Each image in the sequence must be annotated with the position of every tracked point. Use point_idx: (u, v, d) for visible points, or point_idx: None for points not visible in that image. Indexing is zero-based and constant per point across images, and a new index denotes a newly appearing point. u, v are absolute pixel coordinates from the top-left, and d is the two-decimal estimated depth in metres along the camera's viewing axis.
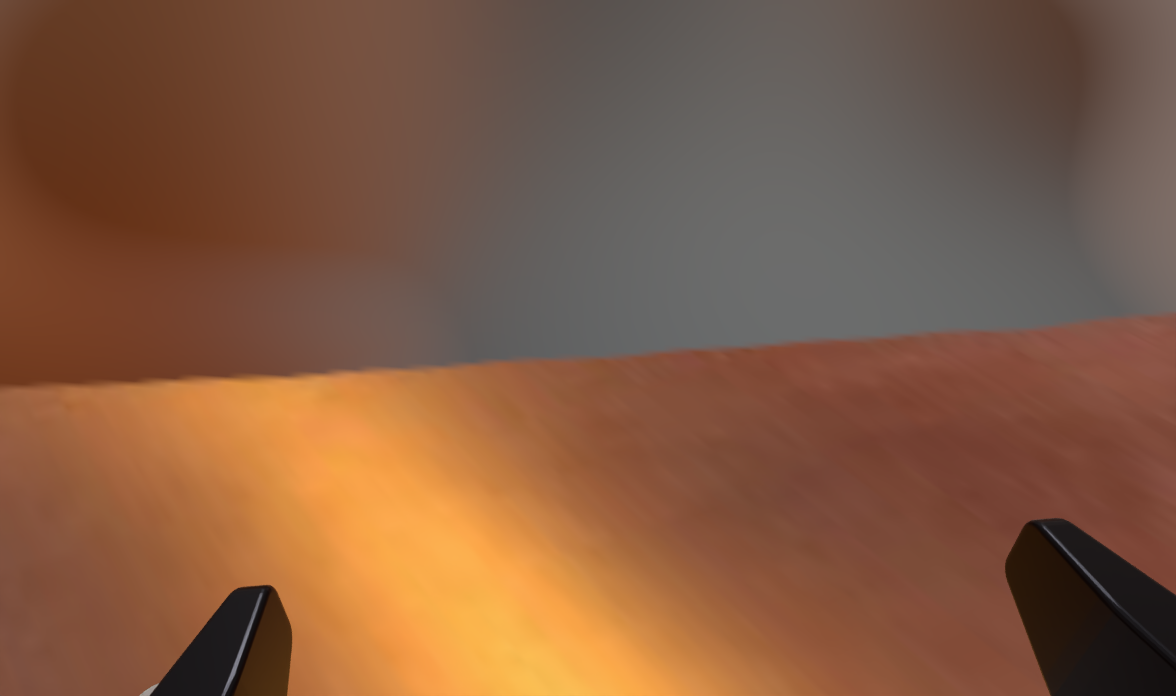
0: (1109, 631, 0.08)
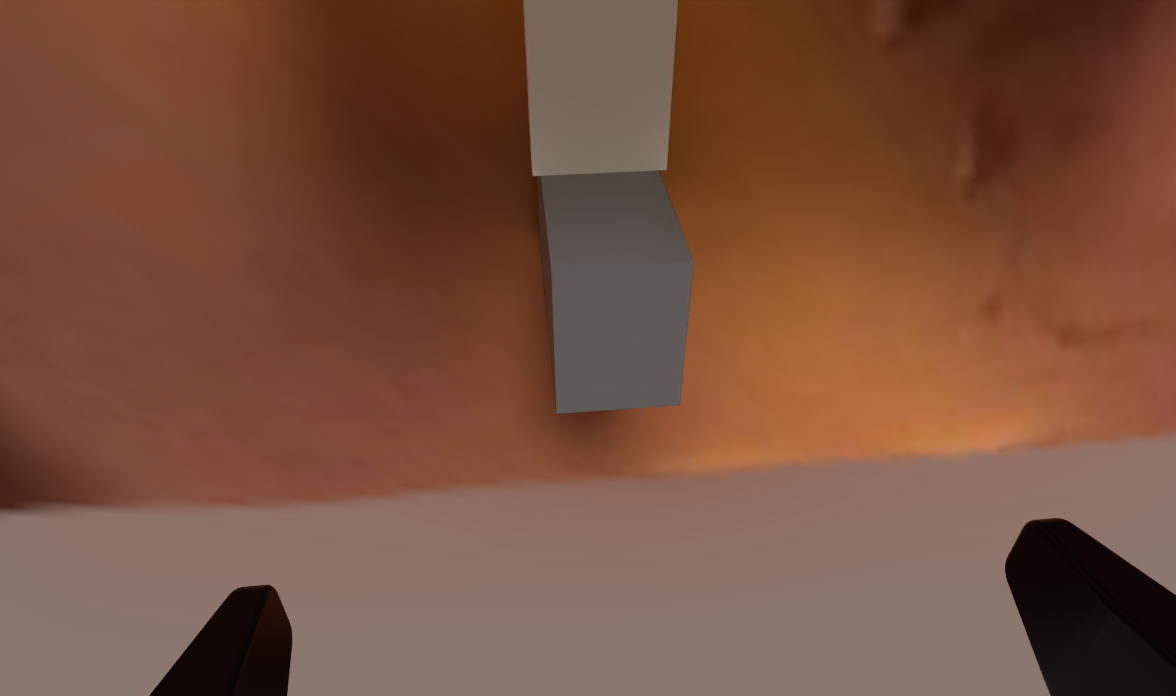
0: (1109, 631, 0.08)
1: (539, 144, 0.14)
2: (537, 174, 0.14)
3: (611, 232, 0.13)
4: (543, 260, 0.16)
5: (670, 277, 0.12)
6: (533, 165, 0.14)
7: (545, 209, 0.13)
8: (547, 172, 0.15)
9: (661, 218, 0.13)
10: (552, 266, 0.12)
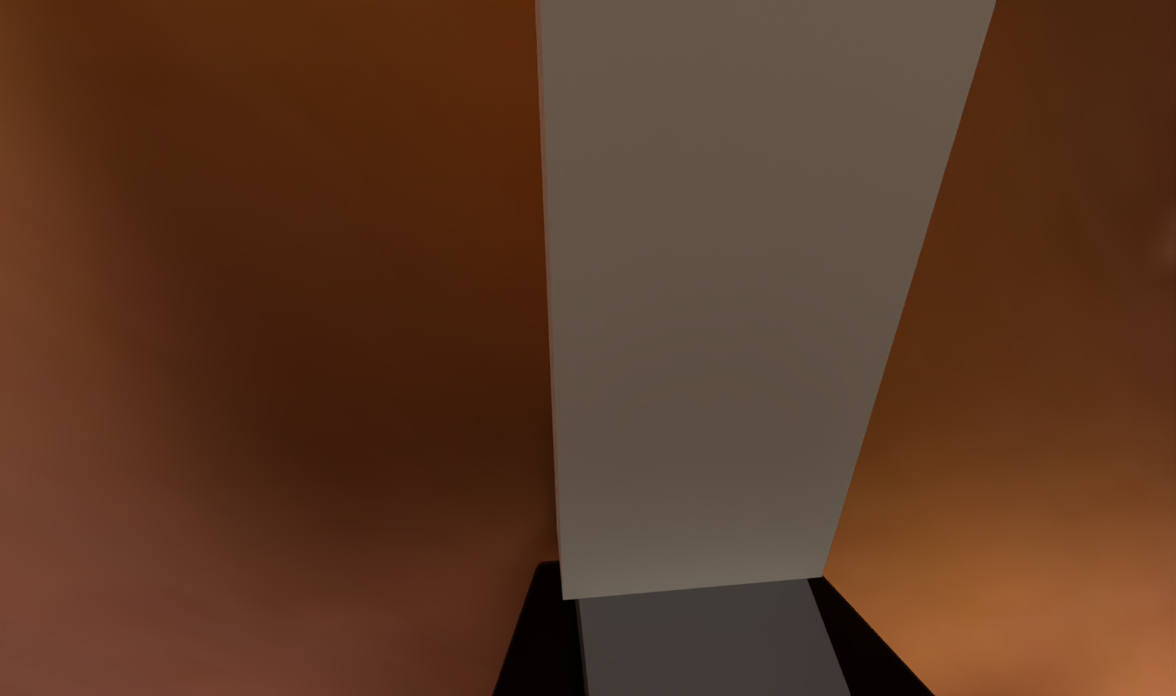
0: None
1: (578, 560, 0.07)
2: (572, 596, 0.07)
3: None
4: None
5: None
6: (565, 585, 0.07)
7: None
8: (591, 586, 0.07)
9: None
10: None
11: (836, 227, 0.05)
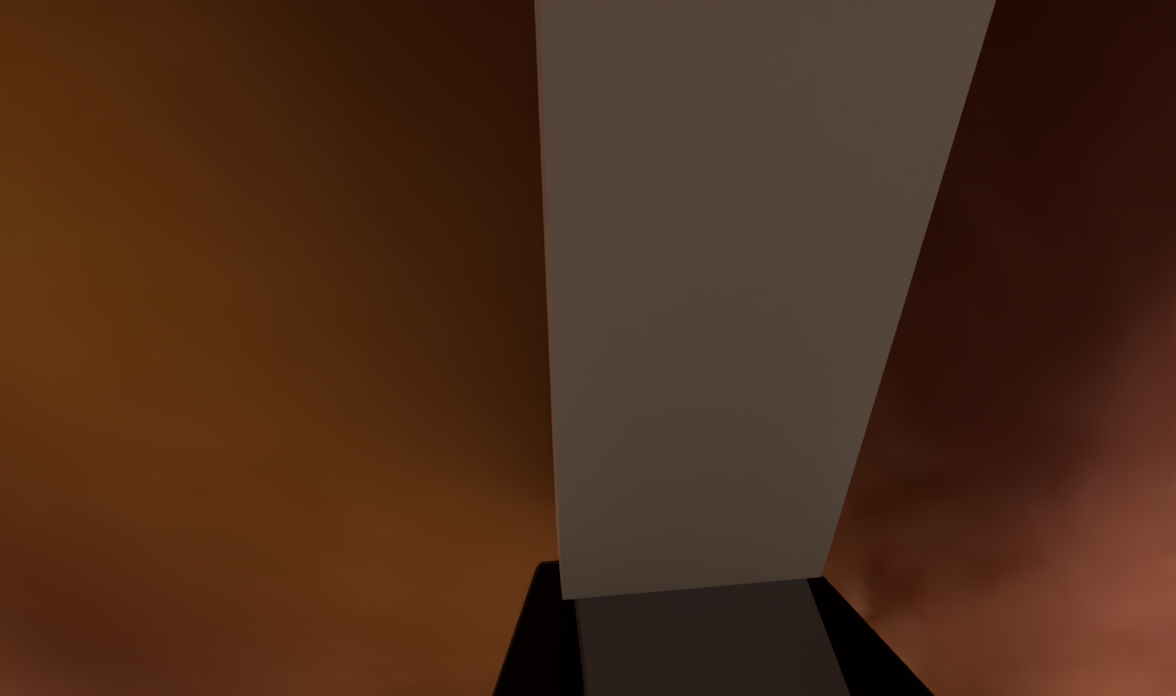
0: None
1: (578, 560, 0.07)
2: (572, 596, 0.07)
3: None
4: None
5: None
6: (564, 585, 0.07)
7: None
8: (591, 586, 0.07)
9: None
10: None
11: (836, 227, 0.05)
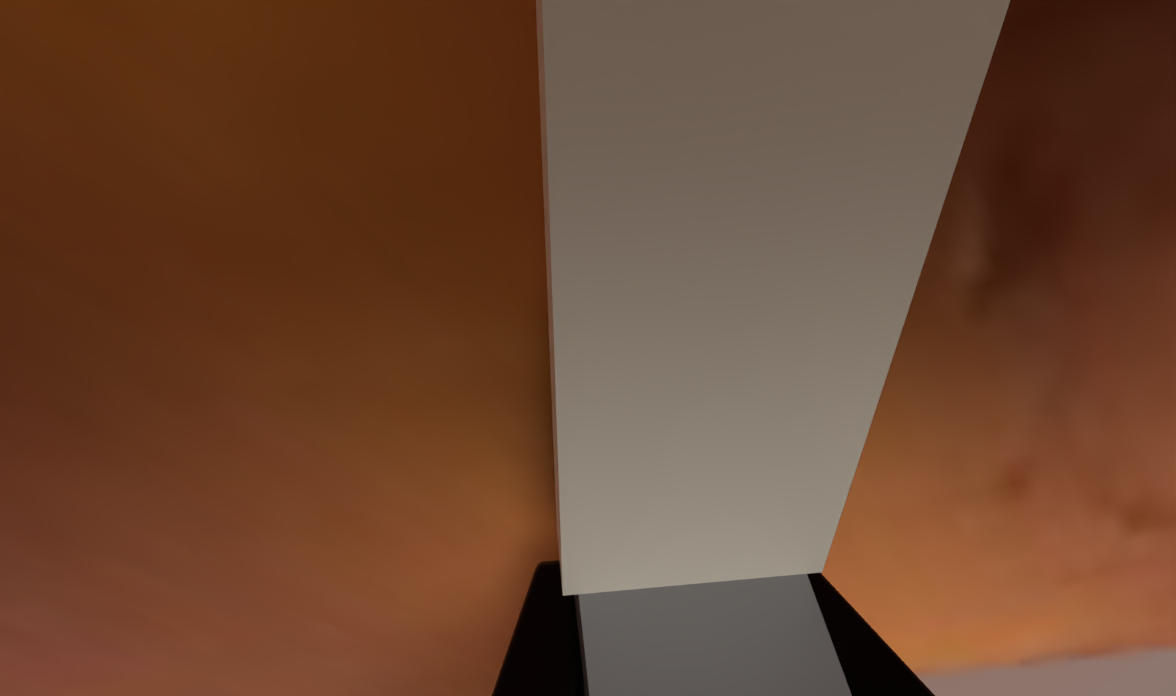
0: None
1: (578, 557, 0.07)
2: (572, 592, 0.07)
3: None
4: None
5: None
6: (564, 581, 0.07)
7: None
8: (590, 581, 0.07)
9: None
10: None
11: (842, 227, 0.05)
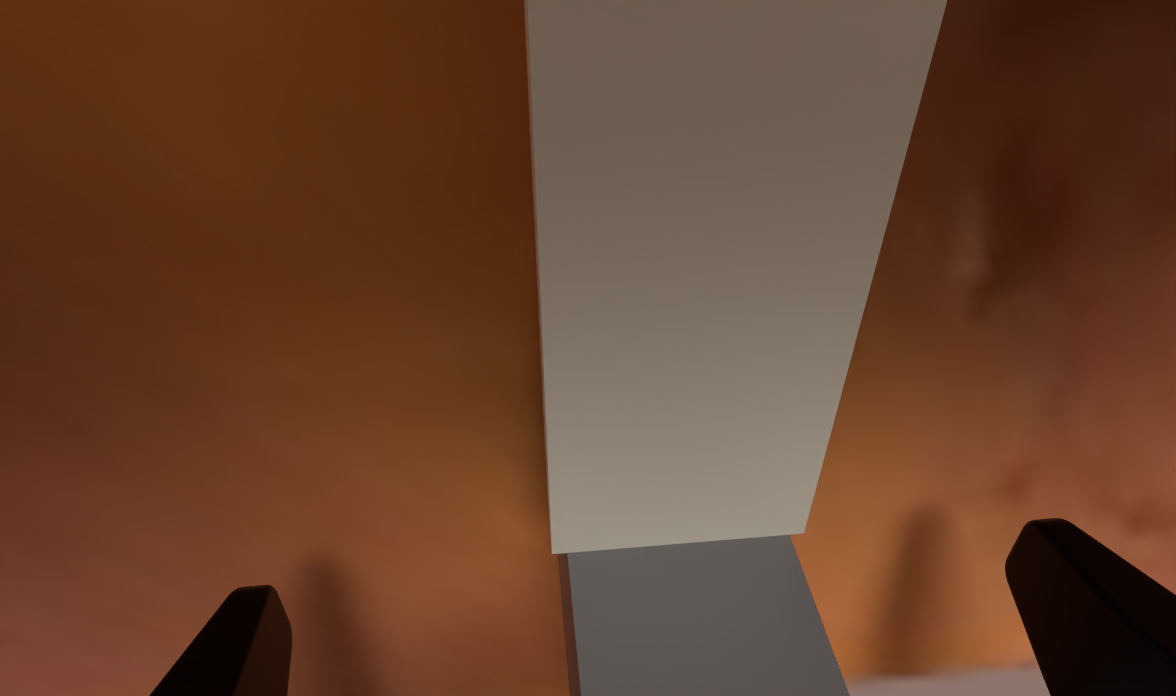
0: (1109, 631, 0.08)
1: (566, 513, 0.07)
2: (561, 550, 0.08)
3: None
4: (567, 631, 0.09)
5: None
6: (554, 539, 0.07)
7: (581, 678, 0.07)
8: (578, 541, 0.08)
9: None
10: None
11: (811, 177, 0.05)
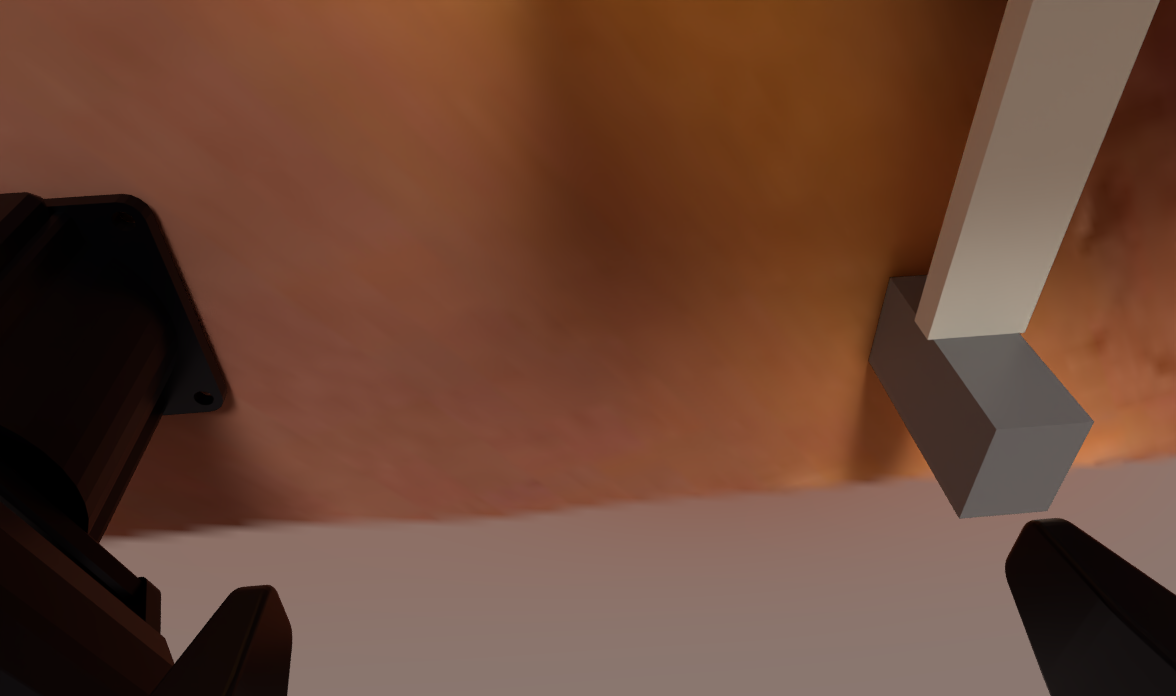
0: (1109, 631, 0.08)
1: (940, 320, 0.19)
2: (930, 338, 0.19)
3: (1018, 394, 0.18)
4: (905, 390, 0.21)
5: (1074, 431, 0.17)
6: (930, 333, 0.19)
7: (957, 372, 0.18)
8: (935, 336, 0.20)
9: (1048, 381, 0.18)
10: (995, 427, 0.17)
11: (1053, 195, 0.17)
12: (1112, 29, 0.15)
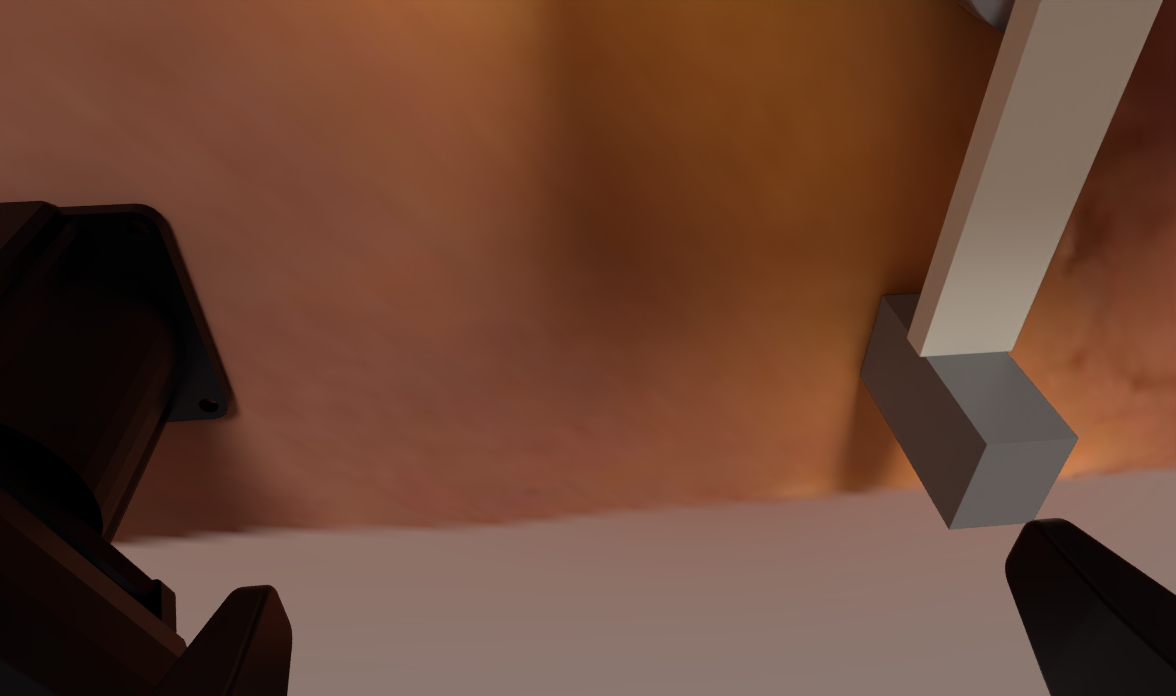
0: (1109, 631, 0.08)
1: (932, 338, 0.20)
2: (923, 355, 0.20)
3: (1007, 410, 0.19)
4: (897, 404, 0.22)
5: (1059, 447, 0.18)
6: (922, 350, 0.20)
7: (948, 389, 0.19)
8: (927, 353, 0.20)
9: (1034, 398, 0.19)
10: (986, 442, 0.18)
11: (1042, 221, 0.18)
12: (1101, 67, 0.16)
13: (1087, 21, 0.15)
